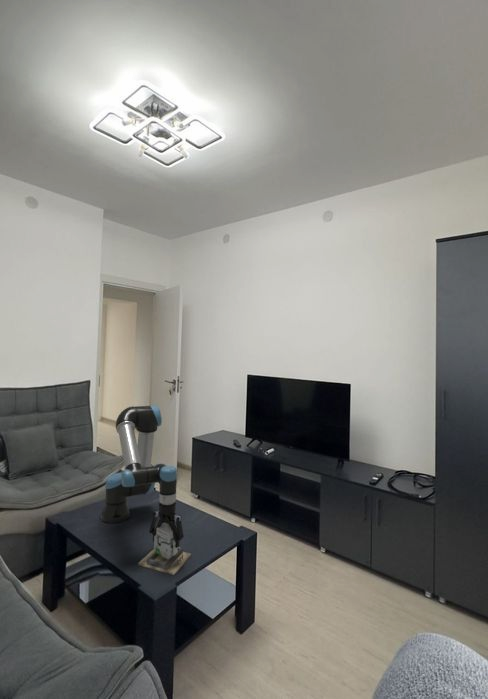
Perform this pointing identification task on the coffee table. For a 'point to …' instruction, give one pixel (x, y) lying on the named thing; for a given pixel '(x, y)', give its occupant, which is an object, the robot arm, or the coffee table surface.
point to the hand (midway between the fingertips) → (165, 551)
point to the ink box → (164, 541)
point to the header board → (165, 561)
